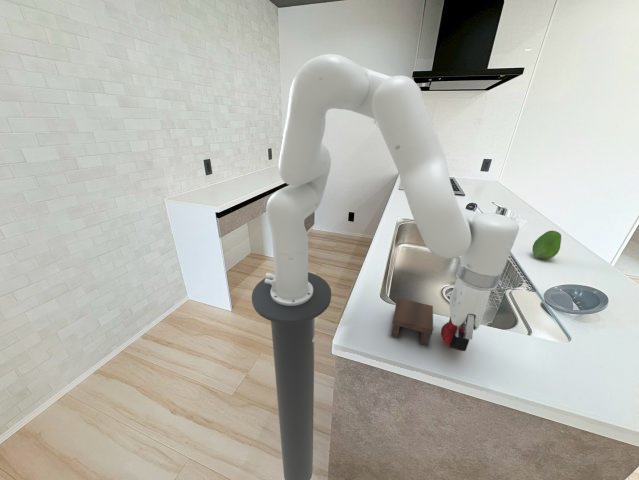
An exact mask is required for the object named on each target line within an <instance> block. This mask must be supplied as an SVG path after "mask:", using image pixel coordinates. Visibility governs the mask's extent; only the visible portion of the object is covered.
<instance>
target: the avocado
mask: <svg viewBox="0 0 639 480" xmlns="http://www.w3.org/2000/svg"><path fill="white" fill-rule="evenodd" d="M561 243H562V233H560V232H558V231H556V230H548V231H545V232H544V233H543V234H541V235H540V236H539V237H538V238H537V239H535V241H534V242H533V244H532V248H531V249H532V255H533V256H534V257H536V259H538V260H543V261H546V260H550V259H553V258H554V257H556V255H558V254H559V251H560V250H561Z"/></svg>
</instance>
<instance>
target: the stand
mask: <svg viewBox="0 0 639 480" xmlns="http://www.w3.org/2000/svg"><path fill="white" fill-rule="evenodd" d="M392 319H393V320H392V329H391V333H390V337H392V338H395V339H398V337H399V333H400V328H406V329H408V330H413V331H417V332H420V342H419V343H420V346H424V347H428V345H429V342H430V340H431V337H432V335H433V331H434V306H433V305H430V304H427V303H422V302H418V301H414V300H410V299H406V298H402V297H396V302H395V306H394V313H393V318H392Z"/></svg>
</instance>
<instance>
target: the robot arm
mask: <svg viewBox="0 0 639 480" xmlns="http://www.w3.org/2000/svg"><path fill="white" fill-rule="evenodd" d="M332 109H334V110H335V109H336V110H345V111H351V112H354V113H356V114H360V115H362V116H365V117H367V118H370V119H373V120H375V122H376V125H377V126H378V129H379V131H380V133H381V135H382V137H383V140H384V142H385V144H386V147H387V149H388V151H389V154H390V157H391V158H392V160H393V163H394V165H395V168H396V169H397V172H398V175H399V178H400V179H399V180H400V182H401V186H402V189H403V192H404V194H405V197H406V200H407V204H408V206H409V209H410V212H411V215H412V218H413V220H414V223H415V225H416V227H417V229H418V232H419V234H420V236H421V239H422V241H423V243H424V244H425V247H426V248H427V250H429V251H430V253H432V254H433V255H434V256H436V257H438V258H441V259H445V260H453V259H457V258H459V257H460V259H459V262H458V266H457V269H456V273H455V277H456V280H455V283H454V286H453V288H452V291H451V294H450V297H449V312H450V313H449V314H450V316H449V320H448V322H450V321H452V323H453V325H456V326H457V328H456V333H453V336H452V339H451V342H450V347H449V348H451V349H455V350H458V351H461V352H466V351H467V349H468V346H469V343H470V341H471V340H473V337H474V335H473V334H474V331H477V330H478V329H479V328H480V326H481V323H482V321H483V318H484V315H485V312H486V309H487V305H488V302H489V300H490V299H489V298H490V294H491V291H493V290H495V289H496V288H497V287H498V285H499V282H500V279H501V277H502V275H503V272H504V270H505V267H506V264H507V262H508V259H509V256H510V254H511V251H512V249H513V246H514V244H515V241H516V240H517V239H516V238H517V236H518V234H519V229H520V226H519V223H518V222H517V221H516V220H515V219H513V218H511V217H510V216H507V215H503V214H500V213H494V212H493V213H491V212H478V211H475V210H471V209H467V208H463V207H460V206H459V202H458V201H457V200H458V199H457V197H456V195H455V192H454V188H453V185H452V182H451V178H450V174H449V167H448V162H447V158H446V155H445V154H446V153H445V151H444V148H443V146H442V144H441V141H440V138H439V137H438V134H437V131H436V129H435V126H434V124H433V122H432V118H431V116H430V114H429V111H428V108H427V107H426V104H425V101H424V96H423V91H422V90H421V87H420V86H419V85H418V84H417V83H416V82H415V80H414V79H412V78H411V77H409V76H407V75H399V74H398V75H393V76H391V75H387V74H384V73H381V72H378V71H376V70H373V69H370V68H367V67H363V66H361V65H359V64H357V63H356V62H354V61H353V60H351V59H349V58H348V57H345V56H343V55H340V54H334V53H327V54H321V55H318V56H315V57H313V58H311V59H309V60H307V61H306V62H305V63H304V64H303V65H302V66H301V67H300V68H299V69H298V71H297V72H296V73H295V75H294V77H293V79H292V82H291V85H290V88H289V94H288V102H287V110H286V118H285V123H284V128H283V133H282V134H283V135H282V141H281V147H280V153H279V157H278V174H279V177H280V178H281V180H282V182H284V183H285V184H286V185H287V186H284V187H282V188H280V189H278V190H276V191H275V192H273V193H272V194H271V196H270V197H269V198H268V200H267V202H266V207H265V212H266V216H267V220H268V224H269V229H270V233H271V245H272V254H273V270H274V273H271V272H265V275H264V278H266V279H265V283H267V284H271V285H272V288H271V297H272V299H273V300H274V301H275V302H276V303H278V304H281V305H285V306H296V305H300V304H303V303H305V302H307V301H308V300H309V299H310V298H311V297H312V295H313V287H312V285H311V283H309V282H308V272H309V238H308V231H307V229H306V226H305V221H306V219H307V218H308V217H309V216H311V215H313V213H314V212H316V211H317V210H318V208H320V205H321V203H322V201H323V197H324V193H325V191H326V186H327V182H328V178H329V174H330V170H331V165H332V157H331V154H330V151H329V149H328V147H327V146H326V145H325V144H324V143H322V142H323V138H324V135H325V132H326V116H327V113H328V111H329V110H332ZM274 274H275V275H274ZM461 327H464V328H465V331H464V332H460V329H461Z"/></svg>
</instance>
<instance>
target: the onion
mask: <svg viewBox="0 0 639 480" xmlns="http://www.w3.org/2000/svg"><path fill="white" fill-rule="evenodd" d="M456 328H457V326H456V325H453V323H452V321H450V322H449V321H447V322H445V323H444V324H443V325H442V327H441V330H440V337H441V340H442V341H443V342H444V344H445V346H448V347H449V348H451V347H450V342H451V339H452V336H453V333H456ZM464 331H465V328H464V327H461V329H460V332H464Z"/></svg>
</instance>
